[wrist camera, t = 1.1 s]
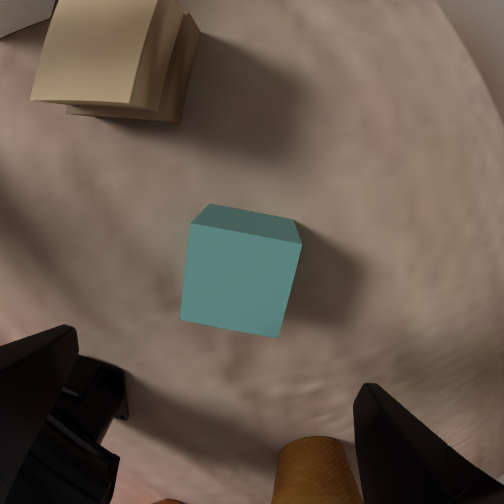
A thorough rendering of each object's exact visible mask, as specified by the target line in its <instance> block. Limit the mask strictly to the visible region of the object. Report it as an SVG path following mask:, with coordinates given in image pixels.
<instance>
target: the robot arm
mask: <svg viewBox="0 0 504 504" xmlns="http://www.w3.org/2000/svg"><path fill="white" fill-rule="evenodd" d="M78 353H79V346H78V338H77V331H76V329H75V328H74V327H72V326H69V325H65V324H63V325H60V326H57V327H54V328H52V329H49V330H46V331H43V332H40V333H37V334H34V335H31V336H28V337H26V338H23V339H20V340H17V341H14V342H11V343H8V344H5V345H2V346H0V504H110V502H111V499H112V497H113V493H114V488H115V482H116V477H117V471H118V466H119V461H120V457H119V456H117V455H116V454H112V453H111V452H109V451H108V450H107V449H105V448H104V447H102V446H101V443H102V440H103V438H104V436H105V434H106V432H107V430H108V428H109V426H110V424H111V422H112V420H113V418H117V419H120V420H123V421H126V420H127V419H128V417H129V414H128V405H127V396H126V385H125V374H124V372H123V371H122V370H121V369H118V368H115V367H112V366H109V365H105V364H102V363H99V362H96V361H93V360H90V359H87V358H85V357H82V356H79V355H78ZM118 374H119V375H118ZM353 415H354V432H355V448H356V455H357V461H358V467H359V474H360V480H361V487H362V494H363V501H364V504H504V485H503V484H501V483H500V482H498V481H497V480H495V479H494V478H492V477H491V476H489V475H488V474H486V473H485V472H483V471H482V470H480V469H479V468H477V467H476V466H475V465H473V464H472V463H470V462H469V461H468V460H466V459H465V458H464V457H462V456H461V455H460V454H459V453H457V452H456V451H455V450H454V449H453V448H452V447H450V446H448V445H447V443H446V442H444V441H443V440H442V439H441V438H440V437H438V436H437V435H436V434H435V433H434V432H433V431H431V430H430V429H429V428H428V427H427V426H426V425H424V424H423V423H422V422H421V421H420V420H418V419H417V418H416V417H415V416H414V415H413V414H411V413H410V412H409V411H408V410H407V409H406V408H405V407H403V406H402V405H401V404H400V403H399V402H398V401H396V400H395V399H394V398H393V397H392V396H391V395H389V394H388V393H387V392H386V391H385V390H384V389H383V388H381V387H380V386H379V385H378V384H376V383H364V384H363V385H362V387H361V389H360V391H359V393H358V395H357V397H356V399H355V401H354V404H353Z"/></svg>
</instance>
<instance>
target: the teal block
mask: <svg viewBox="0 0 504 504" xmlns="http://www.w3.org/2000/svg"><path fill="white" fill-rule="evenodd" d="M301 248H302V242H301V239H300V237H299V234H298V231H297V228H296V226H295V223H294V220H293V219H288V218H283V217H278V216H273V215H268V214H263V213H257V212H252V211H247V210H241V209H236V208H231V207H225V206H220V205H214V204H209V205H208V206H207V207H206V208H205V209H204V210H203V211H202V212H201V213H200V214H199V215H198V216H197V217H196V218H195V219H194V220H193V221H192V222H191V224H190V231H189V239H188V247H187V255H186V264H185V273H184V282H183V291H182V301H181V312H180V320H185V321H189V322H194V323H199V324H204V325H208V326H213V327H218V328H224V329H229V330H234V331H239V332H245V333H251V334H256V335H262V336H268V337H274V338H278V336H279V332H280V329H281V325H282V321H283V318H284V314H285V310H286V307H287V303H288V299H289V295H290V291H291V287H292V284H293V280H294V276H295V272H296V268H297V264H298V260H299V256H300V252H301Z"/></svg>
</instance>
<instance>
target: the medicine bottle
mask: <svg viewBox="0 0 504 504" xmlns="http://www.w3.org/2000/svg"><path fill="white" fill-rule="evenodd" d="M54 4H55V0H0V38H1V37H4V36H6V35H8V34H10V33H13V32H15V31H17V30H20V29H22V28H25V27H27V26H30V25H33V24H35V23H38V22H41V21H43V20H46V19H49V18H50V17H51V15H52V11H53V7H54Z"/></svg>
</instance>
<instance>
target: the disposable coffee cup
mask: <svg viewBox="0 0 504 504" xmlns="http://www.w3.org/2000/svg"><path fill="white" fill-rule="evenodd" d="M271 504H364V503H363V501H362V497H361V495H360V493H359V489H358V487H357V485H356V482H355V479H354V476H353V474H352V471H351V469H350V466H349V463H348V461H347V458H346V455H345V452H344V450H343V447H342V445H341V443H340V442H339V441H337V440H335V439H332V438H329V437H320V436H317V437H307V438H303V439H299V440H296V441H293V442H291V443H290V444H288V445H286V446H285V447H284V448H283V449H282V450H281V451H280V453H279V458H278V466H277V472H276V479H275V485H274V491H273V497H272V503H271Z"/></svg>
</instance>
